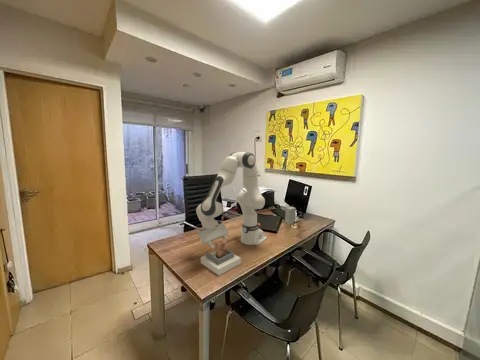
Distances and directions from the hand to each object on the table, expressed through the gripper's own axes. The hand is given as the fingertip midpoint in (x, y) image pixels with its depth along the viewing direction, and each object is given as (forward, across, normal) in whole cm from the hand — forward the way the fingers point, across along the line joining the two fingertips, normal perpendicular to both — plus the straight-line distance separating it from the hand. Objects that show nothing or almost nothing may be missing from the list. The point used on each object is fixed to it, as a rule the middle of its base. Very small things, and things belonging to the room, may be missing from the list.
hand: (219, 245), depth 129 cm
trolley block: (+6, 0, +5) cm, 8 cm away
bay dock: (+9, 0, +8) cm, 12 cm away
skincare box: (+3, +97, +14) cm, 98 cm away
